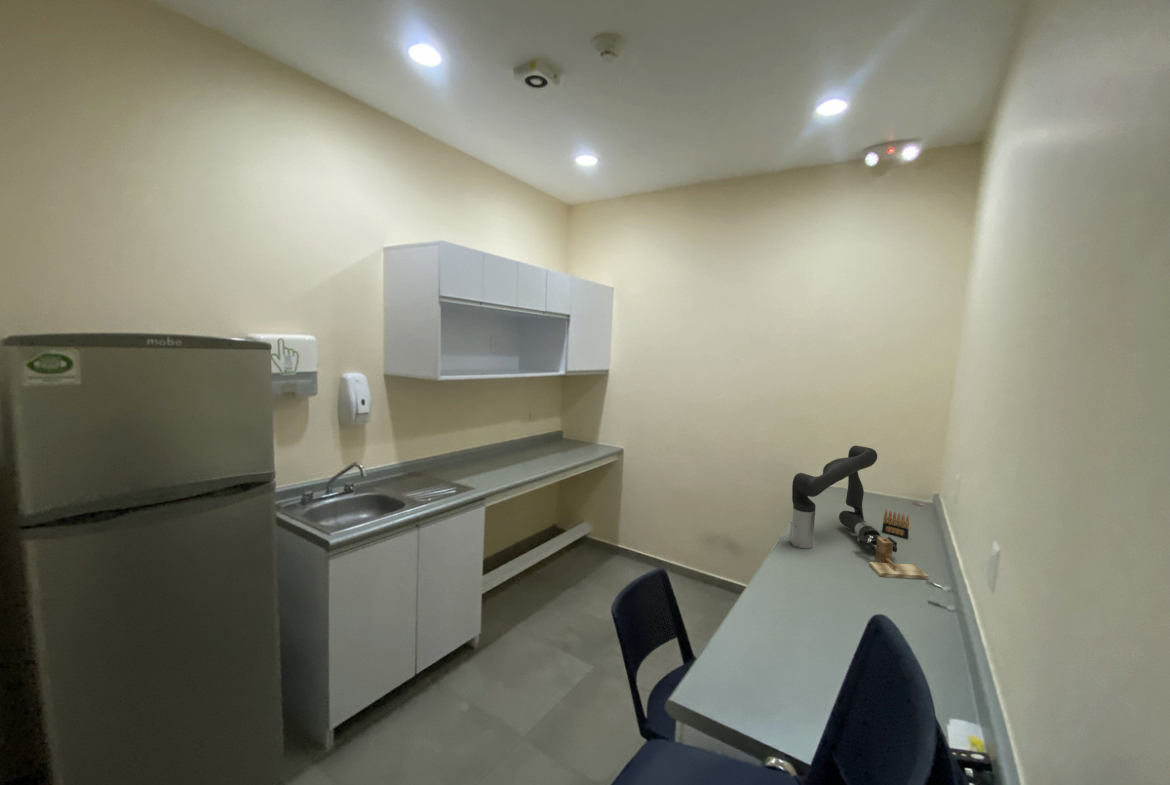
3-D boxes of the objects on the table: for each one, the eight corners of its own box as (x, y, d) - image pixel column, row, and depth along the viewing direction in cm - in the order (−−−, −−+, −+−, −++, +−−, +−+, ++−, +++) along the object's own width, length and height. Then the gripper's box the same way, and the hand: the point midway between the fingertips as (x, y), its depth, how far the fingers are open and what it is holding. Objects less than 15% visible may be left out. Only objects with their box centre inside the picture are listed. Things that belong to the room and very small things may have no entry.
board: (879, 576, 188) (880, 572, 188) (869, 565, 197) (869, 561, 197) (928, 579, 186) (928, 575, 186) (915, 568, 195) (915, 564, 195)
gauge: (889, 574, 190) (892, 549, 188) (875, 559, 202) (877, 535, 201) (900, 574, 189) (903, 549, 188) (884, 559, 202) (887, 536, 200)
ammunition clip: (908, 538, 223) (910, 514, 221) (907, 539, 221) (910, 515, 220) (882, 531, 230) (884, 508, 228) (881, 532, 229) (883, 509, 227)
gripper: (851, 524, 214) (867, 540, 198) (884, 526, 213) (903, 542, 197) (849, 540, 215) (866, 556, 199) (882, 541, 214) (902, 559, 198)
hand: (885, 549), depth 198 cm, fingers open, 8 cm apart
